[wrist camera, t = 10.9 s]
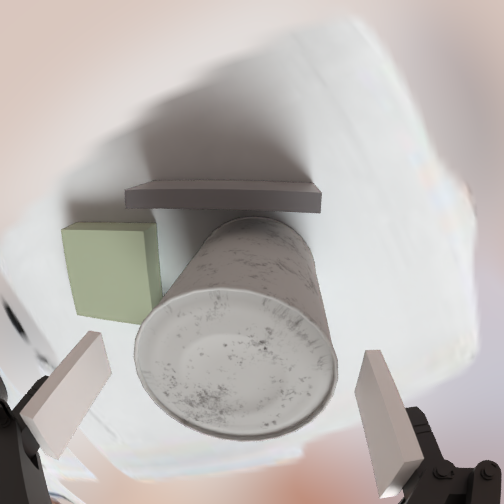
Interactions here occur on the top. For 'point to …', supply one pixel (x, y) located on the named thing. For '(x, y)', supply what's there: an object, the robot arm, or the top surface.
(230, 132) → the top surface
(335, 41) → the top surface
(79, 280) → the block
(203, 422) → the grey cylindrical piece
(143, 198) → the parallel grey rails
